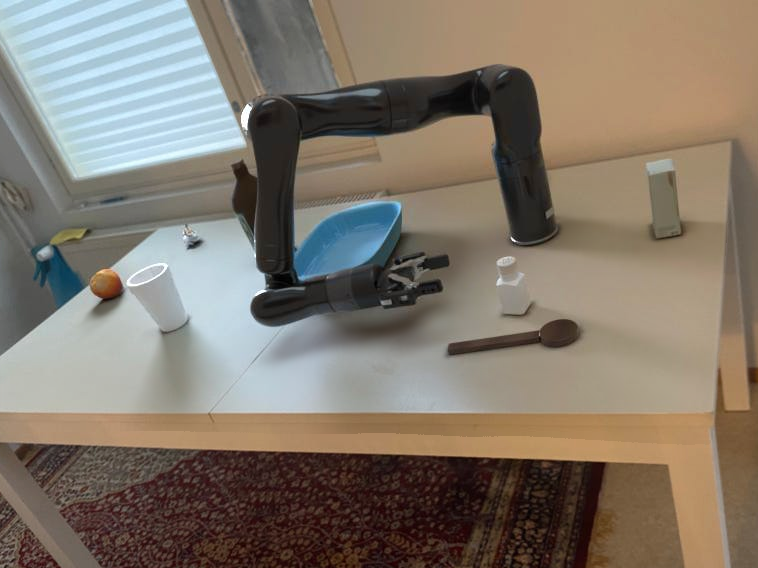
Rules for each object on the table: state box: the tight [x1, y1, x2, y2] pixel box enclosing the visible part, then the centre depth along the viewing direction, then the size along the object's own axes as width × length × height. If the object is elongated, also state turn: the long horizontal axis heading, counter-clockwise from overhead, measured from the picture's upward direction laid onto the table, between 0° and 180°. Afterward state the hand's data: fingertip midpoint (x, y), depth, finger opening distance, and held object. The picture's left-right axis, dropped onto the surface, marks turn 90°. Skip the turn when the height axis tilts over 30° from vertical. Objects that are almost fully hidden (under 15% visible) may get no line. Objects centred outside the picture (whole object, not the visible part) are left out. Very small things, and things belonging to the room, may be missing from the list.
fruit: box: [89, 268, 125, 300], centre depth 186 cm, size 8×8×8 cm
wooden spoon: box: [447, 318, 580, 356], centre depth 112 cm, size 21×6×1 cm, turn 79°
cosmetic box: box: [645, 157, 682, 239], centre depth 124 cm, size 6×4×12 cm
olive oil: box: [229, 158, 297, 252], centre depth 167 cm, size 11×11×25 cm
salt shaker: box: [496, 255, 532, 316], centre depth 118 cm, size 4×4×10 cm
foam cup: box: [126, 263, 189, 333], centre depth 155 cm, size 10×9×13 cm
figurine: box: [182, 223, 199, 246], centre depth 201 cm, size 5×4×6 cm
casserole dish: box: [294, 200, 403, 283], centre depth 154 cm, size 37×22×7 cm, turn 166°
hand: (445, 272), depth 119 cm, fingers open, 8 cm apart
